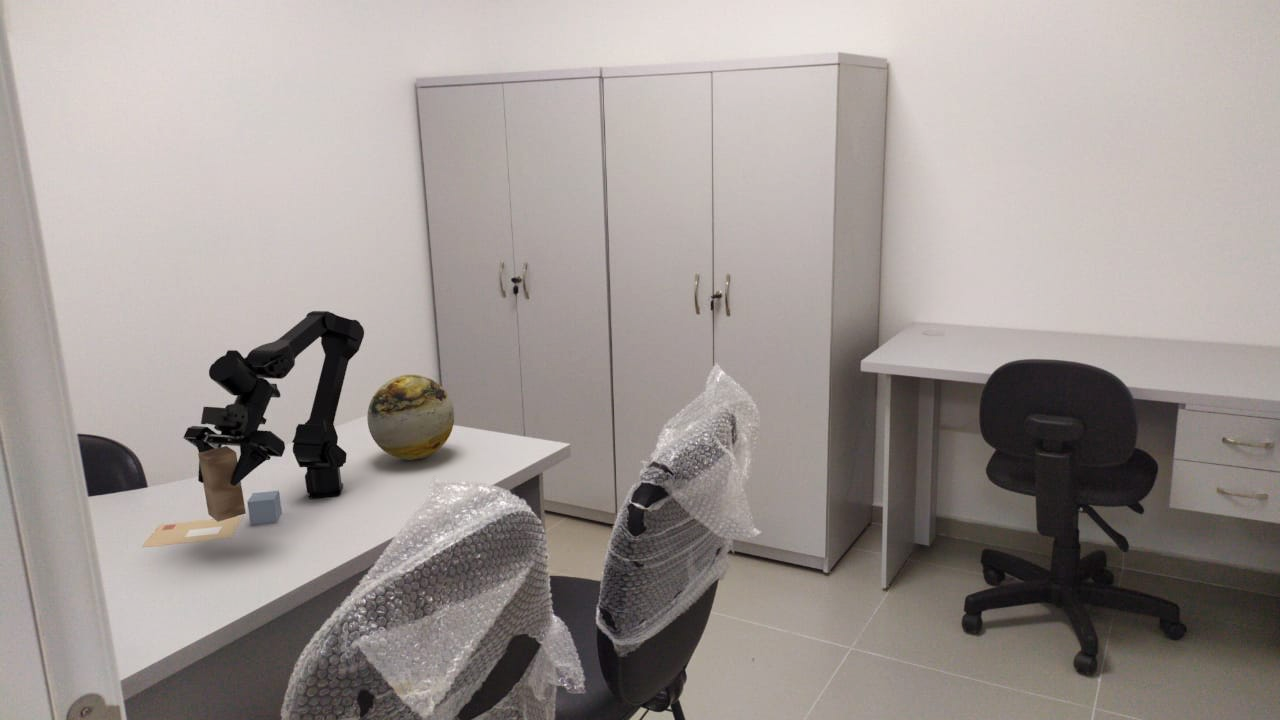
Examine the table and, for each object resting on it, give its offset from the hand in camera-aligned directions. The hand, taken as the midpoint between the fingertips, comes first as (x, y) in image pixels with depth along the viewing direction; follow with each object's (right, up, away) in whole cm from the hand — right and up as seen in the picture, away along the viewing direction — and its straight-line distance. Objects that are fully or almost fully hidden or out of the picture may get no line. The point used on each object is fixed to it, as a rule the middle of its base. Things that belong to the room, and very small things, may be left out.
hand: (216, 483), depth 167 cm
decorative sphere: (+24, -1, +52) cm, 57 cm away
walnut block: (+1, -6, +3) cm, 7 cm away
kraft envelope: (-10, -11, +13) cm, 20 cm away
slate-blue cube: (+2, -10, +18) cm, 20 cm away
